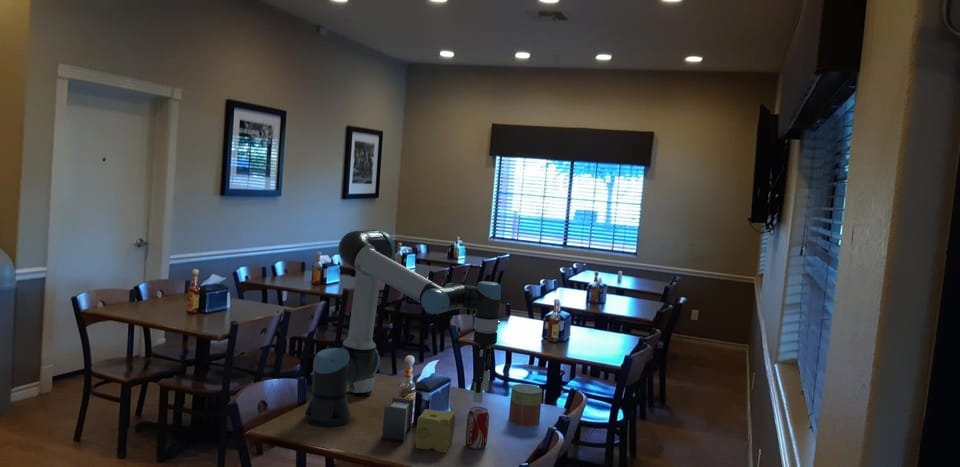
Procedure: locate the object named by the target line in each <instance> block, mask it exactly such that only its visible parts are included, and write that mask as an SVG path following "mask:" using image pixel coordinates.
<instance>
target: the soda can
mask: <svg viewBox="0 0 960 467" xmlns="http://www.w3.org/2000/svg"><path fill="white" fill-rule="evenodd" d="M489 426H490V415H489V412H488V409H487V408H485V407H482V406H472V407H470V408H469V411H468V413H467V418H466V429H465V430H466V431H465V444H466V446H468V447H469V448H471V449H474V450H480V449H481V450H482V449H483V448H485V447H486V446H487V444H488V437H489V435H488V434H489Z"/></svg>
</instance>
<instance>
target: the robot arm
mask: <svg viewBox="0 0 960 467" xmlns="http://www.w3.org/2000/svg"><path fill="white" fill-rule="evenodd" d="M338 254H339V257H340V259H341V260H342V261H343V263H345V265H348V266H349V267H350V268H351V269H354V270H355V272H356V274H355V281H354V289H353V290H354V291H353V298H352V306H351V313H350V321H349V329H348V334H347V338H345V339H344V340H343V342H342V346H341V347H332V348H324V349H321V350H320V351H318V352H317V353H316V354H315V356H314V360H313V365H312V368H313V369H312V382H311V383H312V384H311V386H312V387H311V397H310V400H309V403H308V405H307V407H306V410H305V412H304V421H305V422H306V423H307V424H308V425H309V424H310V425H312V426H315V427H321V428H323V427H324V428H332V427H340V426H344V425H346V424H348V423H349V422H350V420H351V410H350V406H349V403H348V398H347V396H348V386H347V385H349V384H352V383H355V382H358V381H363V380H366V379H368V378H369V377H371V376H373V375H374V376H375V374H377V372H378V371H379V368H380V363H381V356H380V354H378V353H379V351H378V349H377V344H376V343H375V342H374V340H373V337H374V330H375V324H376V323H375V322H376V317H377V316H376V315H377V309H378V308H377V307H378V301H379V293H380V286H381V282H383V283H385V284H387V285H388V286H390V287H392V288H393V289H396V290H397V291H398V292H401V293H402V294H404V295H406V296H408V297H409V298H411V299H413V300H414V301H417V302H418V303H420V304H421V306H422V308H423V309H424V311H425V312H426V313H429V314H432V315H434V314H435V315H436V314H437V315H439V314H443V313H445V312H449V311H453V310H458V309H466V310H471V311H475V313H474V324H473V328H474V331H473V340H472V341H473V342H474V343H475V344H478V345H479V347H478V348H477V350H476V352H477V353H476V354H477V355H476V363H475V370H474V371H475V372H474V377H473V378H472V379H471V381H472V383H473V382H474V387H473V398H472V400H473V401H472V402H473V403H476V404H482V403H483V396H484V395H483V394H484V392H488V391H489V385H490V384H489V382H490V371H492V370H493V367H492V365H491V362H492V361H491V358H492V353H491V352H492V348H491V347H492V346H494V345H496V344H498V343H497V342H498V332H497V331H498V329H499V327H498V326H499V325H501V321H499V319H500V318H499V317H500V315H499V314H500V306H501V304H500V303H501V298H502V296H501V289H502V288H501V284H500V283H498V282H494V281H487V280H486V281H484V280H483V281H479V282H477V286H472V285H468V284H467V285H466V284H462V283H461V284H460V283H458V282H457V283H456V282H455V283H454V282H448V283H446V284H445V285H444V286H440V284H438V283H437V284H436V283H435V282H433V281H431V280H430V279H428V278H427V277H424V276H422V275H421V274H419V273H417V272H415V271H414V270H412V269H410V268H408V267H406V266H404V265H403V264H400V263H399V262H397V261H396V260H393V258H394V257H395V254H396V244H395V241H394V240H393V238H392V236H390V235H389V233H387V232H385V231H383V230H377V229H375V230H374V229H372V230H369V229H368V230H352V231H349V232H347V233H346V234H345V235H343V237H342V238H341V239H340V241H339V243H338Z"/></svg>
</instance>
